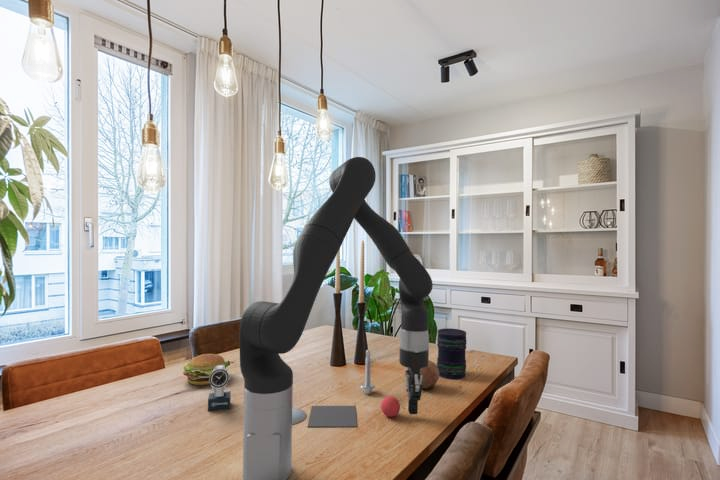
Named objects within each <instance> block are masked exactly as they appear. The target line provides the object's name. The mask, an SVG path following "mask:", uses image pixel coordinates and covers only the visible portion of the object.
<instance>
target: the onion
mask: <svg viewBox="0 0 720 480" xmlns="http://www.w3.org/2000/svg"><path fill="white" fill-rule="evenodd" d="M420 372H421V374H422V381H421V385H422V386H423V388H422V390H423V389H424V390H431V389H433V388H435V386H436V383H438V381H439V379H440V376H439V370H438V367H437V363H435V362H434V361H431V360H428V366H426V367H424V368H421V369H420Z"/></svg>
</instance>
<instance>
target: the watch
mask: <svg viewBox="0 0 720 480" xmlns="http://www.w3.org/2000/svg"><path fill="white" fill-rule="evenodd" d="M231 377H232V376H230V375H229V372H228V370H227V367H226V368H225V365H220V366H216V367H215V368H214V370H213V372H212V374H211V375H210V378H209V381H210V384H209V385H210V387H211V389H212V392H210V393H208V394H209V395H208V398H207V412H211V411H222V410H230V409H231V396H232V395H231V394H232V393H231V391H225V390H226V388H227V385H228V383H229V380H231Z"/></svg>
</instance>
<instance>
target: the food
mask: <svg viewBox="0 0 720 480" xmlns="http://www.w3.org/2000/svg"><path fill="white" fill-rule="evenodd" d="M220 365H225V368H226V369H227V368H228V366H231V361H230V360H227V361H225V358H224V357H222V355H220V354H216V353H202V354H200V355H199V354H198V355H196V356H195V357H193V358H191V359H190V360H189V362H188V363H187V365H183V375H184V376H186V377H187V379H186V381H187V383H188V384H192V385H195V386H207V385H211V384H210V381H209V378H210V375H211V374H212V372H213V370H214V368H215V367H216V366H220Z"/></svg>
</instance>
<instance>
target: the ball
mask: <svg viewBox="0 0 720 480" xmlns="http://www.w3.org/2000/svg"><path fill="white" fill-rule="evenodd" d="M380 409H381V412H382V413H383V415H385V416H387V417H389V418H393V417H396V416H397V415H398V414H399V413H400V410H401V405H400V401H399V400H398V398H396V397H395V396H392V395H389V396H386V397H384V398H383V400H382V401H381V403H380Z"/></svg>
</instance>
